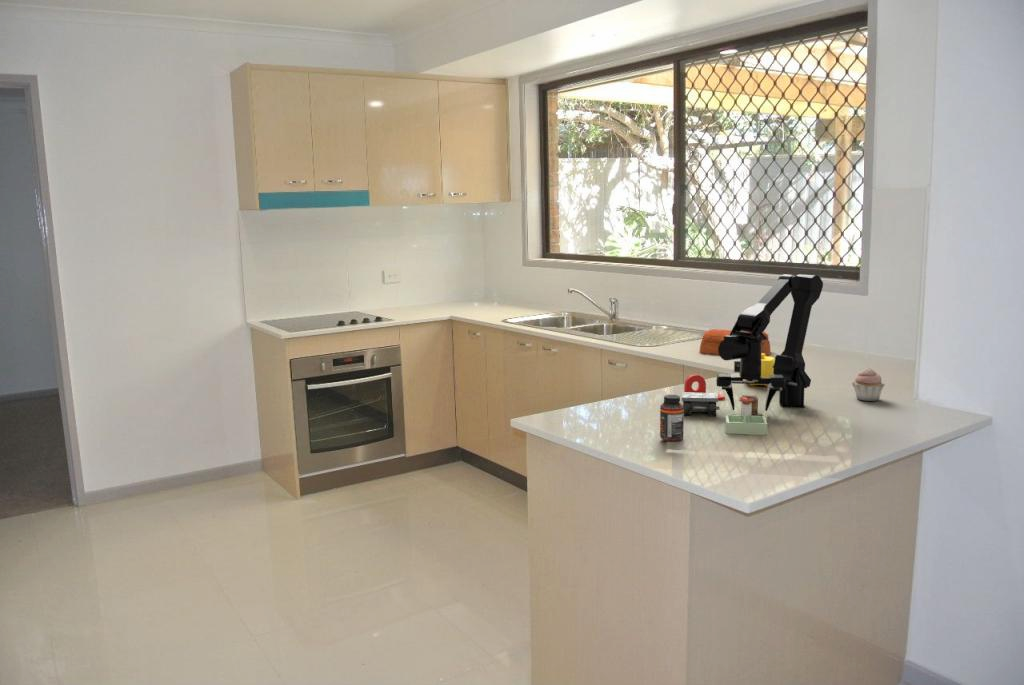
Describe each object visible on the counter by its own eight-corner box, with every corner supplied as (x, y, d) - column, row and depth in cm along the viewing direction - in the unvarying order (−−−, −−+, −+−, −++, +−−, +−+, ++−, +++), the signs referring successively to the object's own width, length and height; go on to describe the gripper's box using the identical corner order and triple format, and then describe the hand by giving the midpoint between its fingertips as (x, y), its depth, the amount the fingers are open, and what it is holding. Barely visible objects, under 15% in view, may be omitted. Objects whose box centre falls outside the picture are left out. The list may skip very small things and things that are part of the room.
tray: (764, 426, 218) (764, 416, 218) (767, 434, 210) (767, 423, 210) (725, 425, 220) (725, 414, 220) (726, 433, 212) (726, 422, 212)
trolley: (718, 411, 236) (719, 393, 236) (719, 417, 229) (719, 399, 228) (680, 410, 239) (680, 392, 238) (679, 416, 231) (679, 397, 231)
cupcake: (870, 394, 253) (871, 363, 251) (891, 401, 244) (892, 368, 242) (844, 396, 250) (845, 365, 249) (864, 403, 242) (865, 370, 240)
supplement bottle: (657, 436, 212) (657, 393, 210) (679, 435, 212) (680, 392, 210) (663, 442, 206) (663, 399, 204) (686, 441, 206) (686, 398, 204)
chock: (756, 412, 235) (756, 395, 234) (757, 417, 229) (758, 400, 228) (741, 411, 235) (742, 395, 235) (742, 416, 230) (743, 399, 229)
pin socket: (766, 420, 224) (766, 413, 224) (767, 426, 219) (768, 418, 218) (743, 419, 226) (743, 412, 225) (744, 425, 220) (744, 418, 220)
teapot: (776, 392, 259) (776, 359, 258) (740, 390, 263) (741, 357, 262) (780, 381, 276) (780, 350, 274) (746, 379, 280) (747, 349, 278)
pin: (752, 426, 216) (753, 396, 215) (753, 430, 213) (754, 399, 212) (738, 426, 217) (739, 396, 216) (739, 429, 214) (739, 399, 212)
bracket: (690, 403, 247) (691, 378, 246) (684, 400, 252) (684, 375, 250) (726, 400, 250) (726, 375, 249) (719, 397, 255) (719, 372, 253)
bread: (765, 362, 311) (765, 335, 310) (696, 358, 324) (696, 332, 322) (773, 355, 325) (773, 329, 323) (707, 352, 338) (707, 326, 336)
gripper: (782, 352, 235) (781, 404, 238) (716, 351, 239) (715, 402, 242) (786, 359, 224) (785, 413, 227) (717, 357, 229) (716, 411, 231)
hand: (749, 410), depth 232 cm, fingers open, 9 cm apart
